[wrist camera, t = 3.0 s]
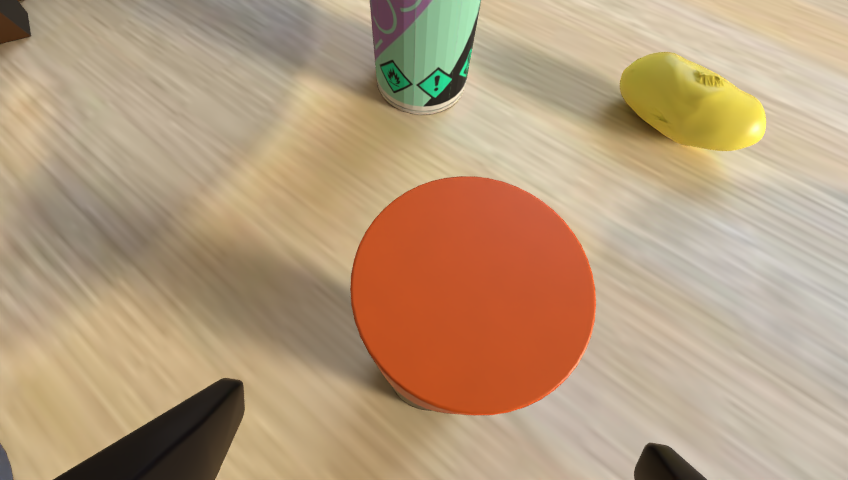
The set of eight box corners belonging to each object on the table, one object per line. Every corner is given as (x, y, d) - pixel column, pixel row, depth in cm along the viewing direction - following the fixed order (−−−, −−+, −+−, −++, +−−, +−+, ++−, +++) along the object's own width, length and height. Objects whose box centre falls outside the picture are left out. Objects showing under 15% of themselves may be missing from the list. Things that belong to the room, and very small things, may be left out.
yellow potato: (629, 71, 26) (665, 16, 22) (745, 142, 24) (805, 95, 20) (594, 108, 24) (627, 57, 21) (714, 186, 22) (773, 145, 19)
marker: (486, 400, 18) (637, 382, 6) (394, 421, 17) (370, 445, 6) (463, 309, 19) (550, 160, 8) (378, 327, 19) (335, 194, 7)
